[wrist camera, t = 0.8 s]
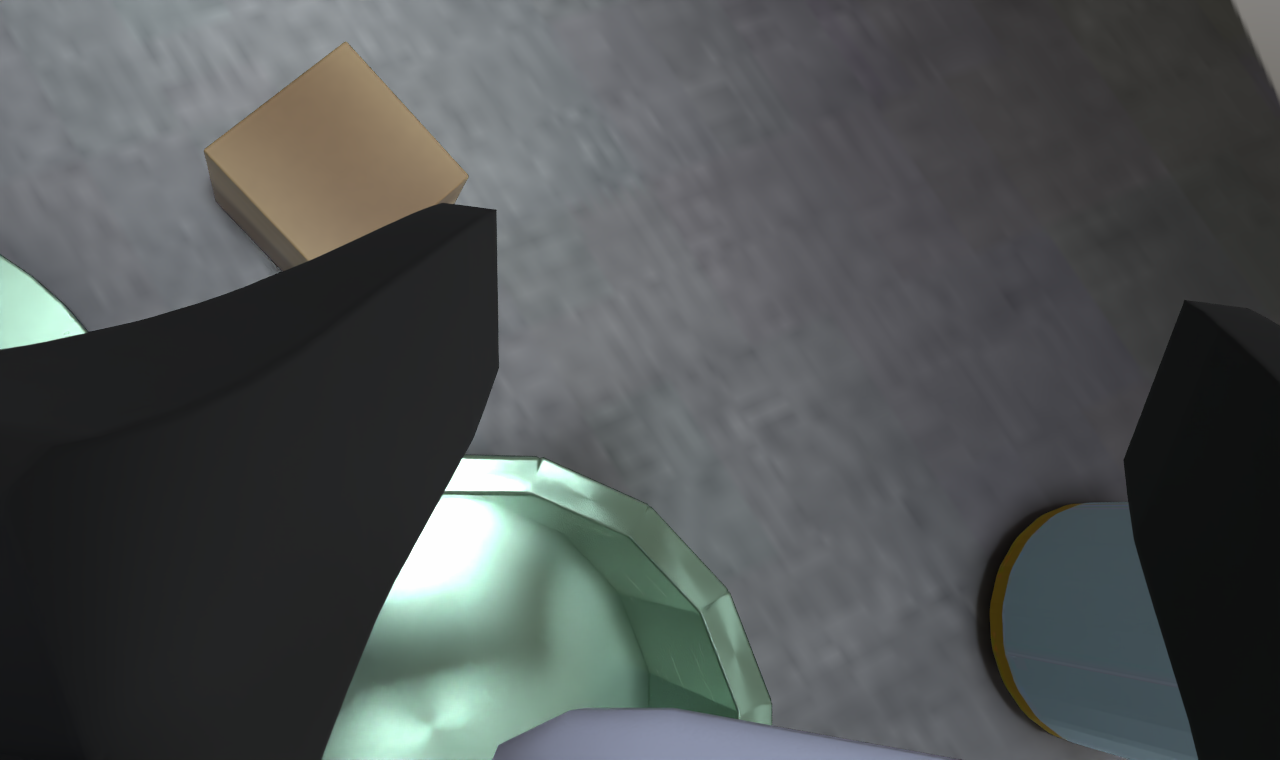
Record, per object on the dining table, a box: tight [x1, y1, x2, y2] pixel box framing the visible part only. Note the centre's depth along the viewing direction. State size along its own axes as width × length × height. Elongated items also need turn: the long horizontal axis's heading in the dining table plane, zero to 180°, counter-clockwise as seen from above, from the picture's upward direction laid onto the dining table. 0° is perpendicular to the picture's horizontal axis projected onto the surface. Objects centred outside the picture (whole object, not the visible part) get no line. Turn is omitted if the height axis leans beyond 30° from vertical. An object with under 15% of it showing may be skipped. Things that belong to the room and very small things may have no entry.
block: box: [204, 42, 469, 271], centre depth 26 cm, size 4×4×4 cm
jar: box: [321, 455, 772, 760], centre depth 24 cm, size 13×13×6 cm
